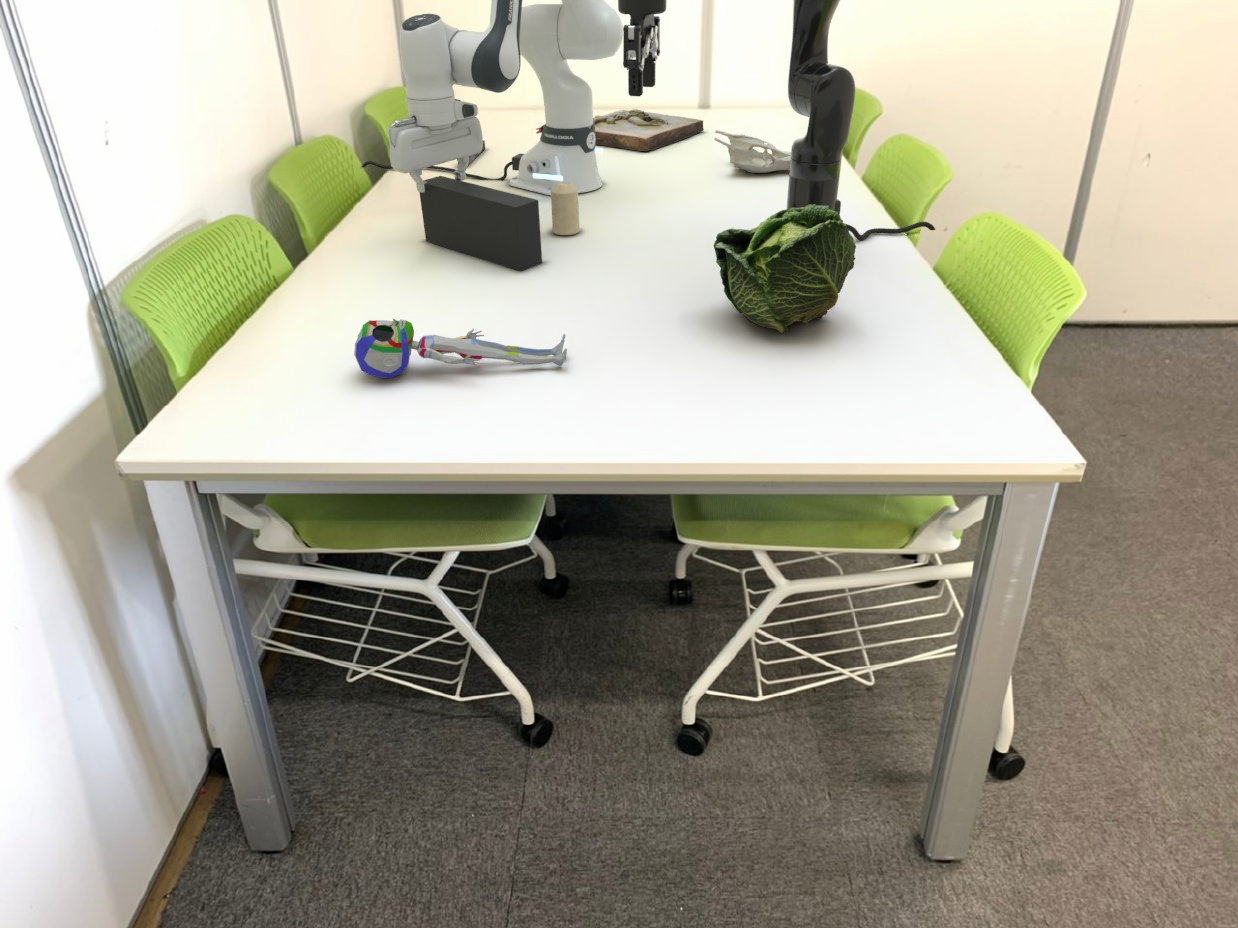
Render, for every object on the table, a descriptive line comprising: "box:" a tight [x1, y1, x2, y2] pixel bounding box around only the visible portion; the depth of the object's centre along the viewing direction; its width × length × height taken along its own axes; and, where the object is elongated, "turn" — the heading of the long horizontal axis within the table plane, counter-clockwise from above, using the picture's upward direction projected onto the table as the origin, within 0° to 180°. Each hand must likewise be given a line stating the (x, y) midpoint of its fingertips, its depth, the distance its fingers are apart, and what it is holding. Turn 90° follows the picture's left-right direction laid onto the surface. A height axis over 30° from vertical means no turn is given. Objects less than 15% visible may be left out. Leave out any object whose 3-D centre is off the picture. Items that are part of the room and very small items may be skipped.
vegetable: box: [713, 204, 857, 334], centre depth 140 cm, size 20×19×20 cm
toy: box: [353, 318, 568, 379], centre depth 130 cm, size 10×8×30 cm
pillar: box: [457, 139, 486, 166], centre depth 239 cm, size 2×2×20 cm
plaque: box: [593, 108, 705, 152], centre depth 257 cm, size 30×7×30 cm
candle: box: [550, 181, 580, 236], centre depth 182 cm, size 6×6×10 cm
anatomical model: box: [714, 130, 791, 174], centre depth 222 cm, size 15×9×25 cm
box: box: [418, 175, 543, 272], centre depth 173 cm, size 28×6×12 cm, turn 49°
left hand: (442, 186), depth 176 cm, fingers open, 8 cm apart
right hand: (642, 91), depth 146 cm, fingers open, 8 cm apart
